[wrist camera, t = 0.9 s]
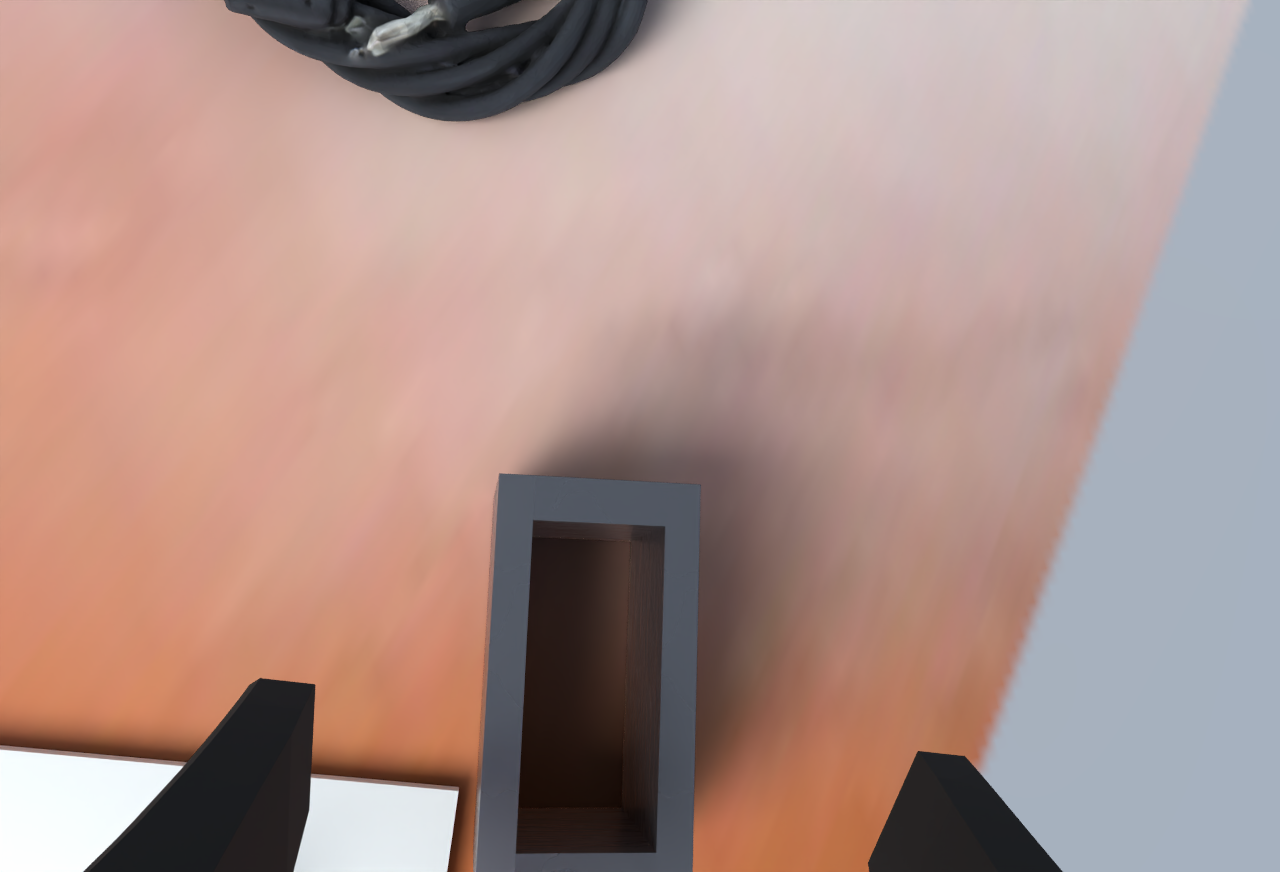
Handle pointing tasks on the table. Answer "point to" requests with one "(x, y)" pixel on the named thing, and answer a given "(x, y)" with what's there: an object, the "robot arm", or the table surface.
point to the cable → (451, 48)
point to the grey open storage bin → (654, 691)
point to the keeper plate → (124, 786)
